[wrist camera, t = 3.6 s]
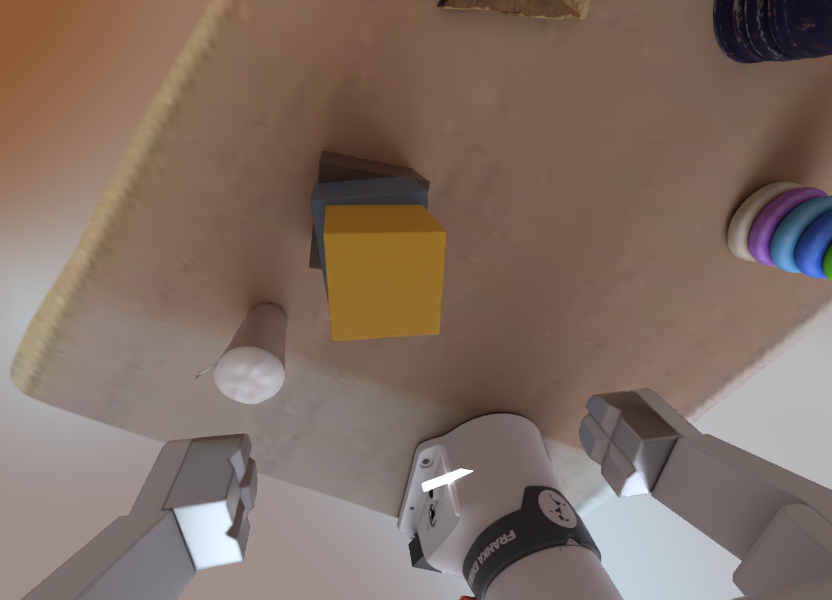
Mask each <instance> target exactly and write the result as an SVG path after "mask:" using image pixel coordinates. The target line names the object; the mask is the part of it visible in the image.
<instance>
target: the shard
mask: <svg viewBox="0 0 832 600" xmlns="http://www.w3.org/2000/svg"><path fill="white" fill-rule="evenodd" d="M590 4H591V0H439V2H438V4H437V7H441V10H448V9H457V10H466V9H476V10H490V11H497V12H499V13H503V14H505V15H514V16H515V15H520V16H525V17H529V18H544V19H549V20H562V19H564V18H567V19H578V20H583V19H585V18H586V15H587V12H588V10H589V7H590Z"/></svg>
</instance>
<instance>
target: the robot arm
mask: <svg viewBox="0 0 832 600" xmlns="http://www.w3.org/2000/svg"><path fill="white" fill-rule="evenodd" d="M586 408H587V410H588V412H589V414H588V415H587V416H586V417H585V418H584V419H583V420H582V421H581V425H580V429H579V434H580V441H581V443H582V446H583V448H584V450H585V452H586V453H587V454H588V456H589V457H590V458H591V459H592V460H594V461H595V462H597V463H599V464H600V465H601V474H602V475H603V477H604V478H605V479H606V481H607V482H608V483H609V485H610V486H611V488H612V489H613V490H614V492H615V493H616V494H617V496H618V497H619V498H621V497H628V496H635V495H642V494H650V493H652V494H651V496H653V497H654V498H655V499H657V500H658V501H660V502H661V503H662V504H664V505H665V506H667V507H668V508H669V509H671V510H672V511H673V512H675V513H676V514H678V515H679V516H681V517H682V518H683V519H685V520H686V521H687V522H689V523H690V524H692V525H693V526H694V527H696V528H697V529H699V530H700V531H701V532H703V533H704V534H705V535H707V536H708V537H710V538H711V539H712V540H714V541H715V542H716V543H718V544H719V545H721V546H722V547H723V548H725V549H726V550H728V551H729V552H731V553H732V554H733V555H735V556H736V557H737V558H739V559H740V560H741V561H742V562H741V564H740V565H739V566H738V568H737V569H736V570H735V572H734V573H733V582H734V583H735V585H736V586H737V587H738V588H739V589H740V591H741V592H742V593H743V594H744V596H742V597H738V598H734V599H730V600H832V490H830V489H828V488H826V487H824V486H821V485H819V484H817V483H815V482H813V481H810V480H808V479H806V478H804V477H802V476H799V475H797V474H795V473H793V472H791V471H788V470H786V469H784V468H782V467H780V466H778V465H775V464H773V463H771V462H768V461H766V460H764V459H762V458H760V457H758V456H756V455H753V454H751V453H749V452H747V451H745V450H742V449H740V448H738V447H736V446H733V445H731V444H729V443H727V442H725V441H722V440H720V439H718V438H716V437H714V436H711V435H709V434H704V435H703V434H701V433H700V432H699V431H698V430H697V429H696V428H695V427H694V426H693V425H691V424H690V423H689V422H688V421H687V420H686V419H685V418H684V417H682V416H681V415H680V414H679V413H678V412H677V411H676V410H675V409H673V408H672V407H671V406H670V405H669V404H668V403H667V402H666V401H664V400H663V399H662V398H661V397H660V396H659V395H658V394H657V393H655V392H654V391H652V390H650V389H648V388H644V389H636V390H629V391H620V392H612V393H604V394H596V395H592V396H591V397H590V398H589V399H588V402H587V405H586ZM251 447H252V445H251V442H250V438H249V435H248V434H234V435H223V436H211V437H200V438H195V439H183V440H171V441H168V442H167V443H166V444H165V445H164V446H163V448H162V449H161V452H160V453H159V455H158V457H157V459H156V461H155V463H154V465H153V467H152V469H151V471H150V473H149V475H148V477H147V479H146V481H145V483H144V485H143V487H142V489H141V491H140V493H139V495H138V497H137V499H136V501H135V503H134V505H133V507H132V509H131V511H130V513H129V515H127V516H121V517H118V518H117V519H116V520H115V521H114V522H112V523H111V524H110V525H109V526H108V527H106V528H105V529H104V530H103V531H102V532H100V533H99V534H98V535H97V536H96V537H94V538H93V539H92V540H91V541H90V542H89V543H87V544H86V545H85V546H84V547H83V548H82V549H80V550H79V551H78V552H77V553H75V554H74V555H73V556H72V557H71V558H69V559H68V560H67V561H66V562H65V563H63V564H62V565H61V566H60V567H59V568H58V569H56V570H55V571H54V572H53V573H52V574H50V575H49V576H48V577H47V578H46V579H44V580H43V581H42V582H41V583H40V584H38V585H37V586H36V587H35V588H34V589H32V590H31V591H30V592H29V593H28V594H27V595H25V596H24V597H23V598H22V599H21V600H176V599H177V598H178V597H179V595H180V594H181V593H182V591H183V590H184V589H185V587H186V586H187V585H188V583H189V582H190V581H191V579H192V578H193V577H194V575H195V574H196V572H195V571H196V570H201V569H206V568H211V567H216V566H221V565H226V564H231V563H236V562H241V561H243V560H244V554H245V550H246V545H247V540H248V535H249V530H250V526H249V522H248V517H247V514H248V513H249V512H250V511H251V510H252V509H253V508H254V505H255V499H256V492H257V469H256V464H255V460H253V459H252V458H250V457H249V455H250V451H251ZM397 525H398V529H399V532H400V533H401V534H402V535H404V536H406V537H407V538H410V539H412V541H411V542H410V543H409V550H410V555H411V561H412V566H413V567H416V568H421V569H426V570H431V571H436V572H445V573H448V574H451V575H454V576H457V577H460V578H463V579H466V581H467V583H468V585H469V586H470V588H471V590H472V592H473V593H474V595H475V597H469V596H461V598H460V600H623V598H622V596H621V595H620V593H619V592H618V590H617V588H616V587H615V585H614V584H613V582H612V580H611V579H610V577H609V575H608V574H607V572H606V570H605V569H604V567H603V565H602V564H601V554H600V551H599V549H598V548H597V546H596V545H595V542H594V541H593V539H592V537H591V535H590V533H589V532H588V530H587V528H586V527H585V525H584V523H583V521H582V520H581V518H580V517H579V515H578V514H577V513H576V511H575V510H574V509H573V507H572V506H571V505H570V503H569V502H568V501H567V499H566V498H565V496H564V493H563V491H562V489H561V487H560V484H559V482H558V480H557V478H556V475H555V473H554V471H553V467H552V464H551V462H550V460H549V458H548V456H547V453H546V450H545V447H544V444H543V440H542V436H541V433H540V431H539V429H538V428H537V426H536V425H535V424H534V423H532V422H531V421H530V420H528V419H526V418H524V417H522V416H518V415H514V414H491V415H486V416H482V417H479V418H476V419H473V420H470V421H468V422H466V423H464V424H462V425H460V426H459V427H457V428H456V429H454V430H452V431H451V432H449V433H448V434H446V435H444V436H441V437H437V438H434V439H431V440H428V441H425V442H423V443H421V444H420V445H419V446H418V447H417V449H416V452H415V456H414V460H413V464H412V468H411V472H410V476H409V479H408V483H407V487H406V491H405V495H404V499H403V503H402V507H401V511H400V515H399V519H398V524H397Z"/></svg>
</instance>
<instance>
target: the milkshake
mask: <svg viewBox="0 0 832 600" xmlns="http://www.w3.org/2000/svg"><path fill="white" fill-rule="evenodd" d="M286 328H287V317H286V315H285V313H284V312H283V310H282V308H280V307H278V306H275V305H273V304H271V303H266V304H258V305H256V306H255V307H254V308H253V309H251V310H250V311H249V312H248V314H247V315H246V317H245V319H244V320H243V322H242V324H241V325H240V327H239V329H238V330H237V332H236V334H235V335H234V337H233V339H232V341H231V342H230V344H229V345H228V347H227V348H226V350H225V351H224V353H223V354H222V356H221V357H220V359H219V360H218V362H216V363H214V364H213V365H211V366H209V367H208V368H206V369H204V370H203V371H201V372H199V373H198V374H196V375H195V377H194V379H196V378H198V377H199V376H201V375H203V374H204V373H206V372H208V371H209V370H211V369H213V368H214V367H215V368H214V374H213V377H214V381H215V384H216V386H217V387H218V389H219V390H220V391H221V392H222V393H223V394H224V395H225V396H227V397H229V398H231V399H233V400H235V401H238V402H241V403H245V404H256V403H260V402H262V401H264V400H267V399H269V398H271V397H273V396H274V395H275V394H276V393H277V392H278V391H279V390H280V388H281V387H282V385H283V383H284V379H285V343H286ZM194 379H193V380H194Z"/></svg>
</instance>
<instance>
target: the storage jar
mask: <svg viewBox="0 0 832 600" xmlns="http://www.w3.org/2000/svg"><path fill="white" fill-rule="evenodd" d="M713 20H714V30H715V35H716V38H717V41H718V44H719V46H720V47H721V49H722V50H723V52H724V53H725V54H726V55H727V56H728V57H729V58H731V59H733V60H734V61H737V62H740V63H757V62H763V61H782V62H783V61H792V60H800V59H806V58H818V57H823V56H827V55H832V0H715V2H714V13H713Z"/></svg>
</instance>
